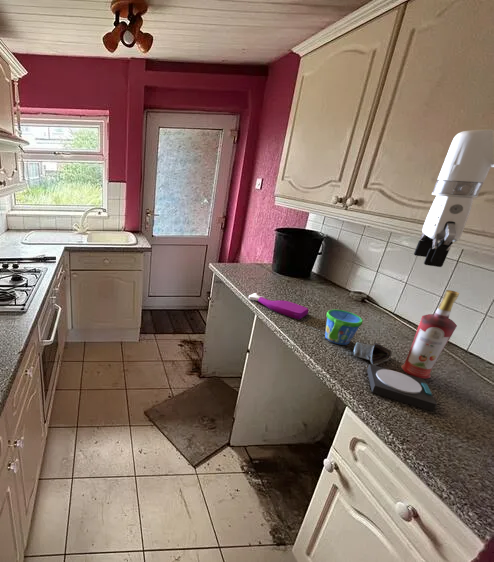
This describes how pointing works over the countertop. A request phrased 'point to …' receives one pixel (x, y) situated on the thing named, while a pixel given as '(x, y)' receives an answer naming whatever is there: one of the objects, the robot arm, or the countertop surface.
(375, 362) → the grey open container
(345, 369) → the countertop surface
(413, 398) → the scale
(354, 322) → the snack cup
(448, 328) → the liquor
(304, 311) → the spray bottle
